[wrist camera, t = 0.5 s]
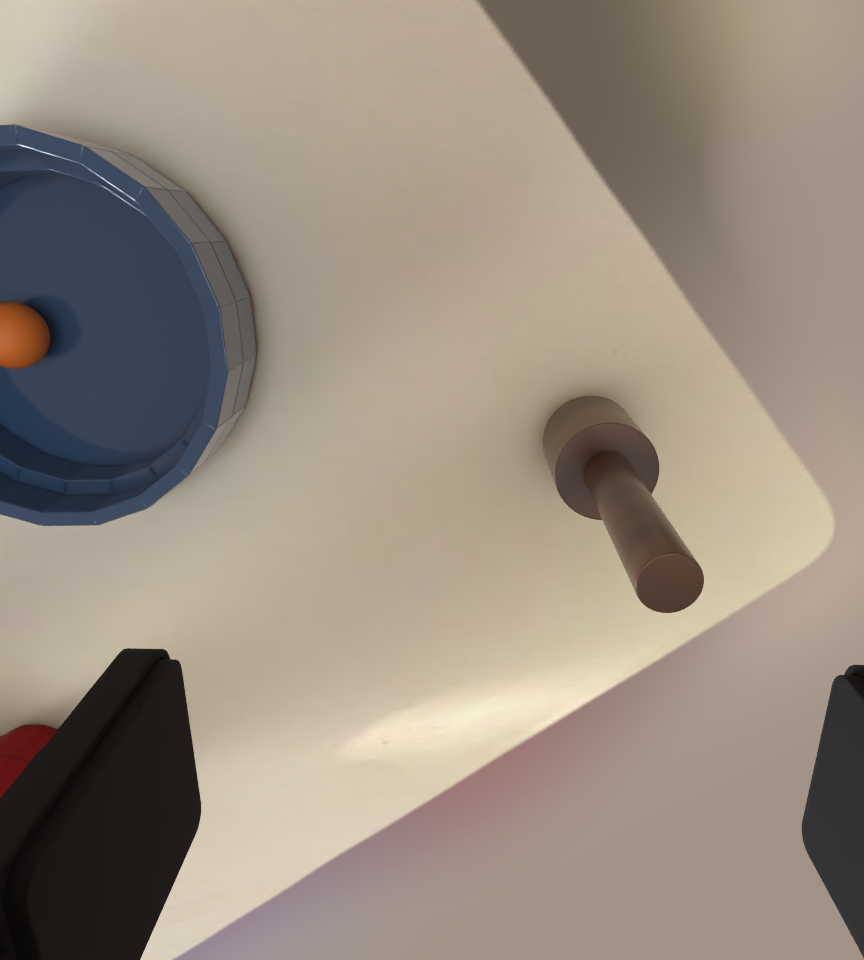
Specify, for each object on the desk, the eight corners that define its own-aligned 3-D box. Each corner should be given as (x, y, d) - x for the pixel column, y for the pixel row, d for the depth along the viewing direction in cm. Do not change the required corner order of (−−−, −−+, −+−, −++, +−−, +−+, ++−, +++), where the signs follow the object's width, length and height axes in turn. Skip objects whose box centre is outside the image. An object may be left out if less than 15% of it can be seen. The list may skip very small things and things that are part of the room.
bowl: (-124, 146, 32) (-225, 134, 27) (236, 133, 31) (196, 117, 27) (-34, 490, 38) (-105, 527, 33) (275, 486, 37) (247, 524, 32)
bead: (-7, 299, 34) (-50, 306, 31) (55, 297, 34) (18, 304, 31) (8, 363, 35) (-33, 375, 32) (68, 361, 35) (33, 374, 32)
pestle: (544, 396, 35) (598, 515, 21) (636, 394, 34) (755, 513, 20) (542, 482, 36) (591, 648, 22) (630, 481, 36) (737, 648, 22)
